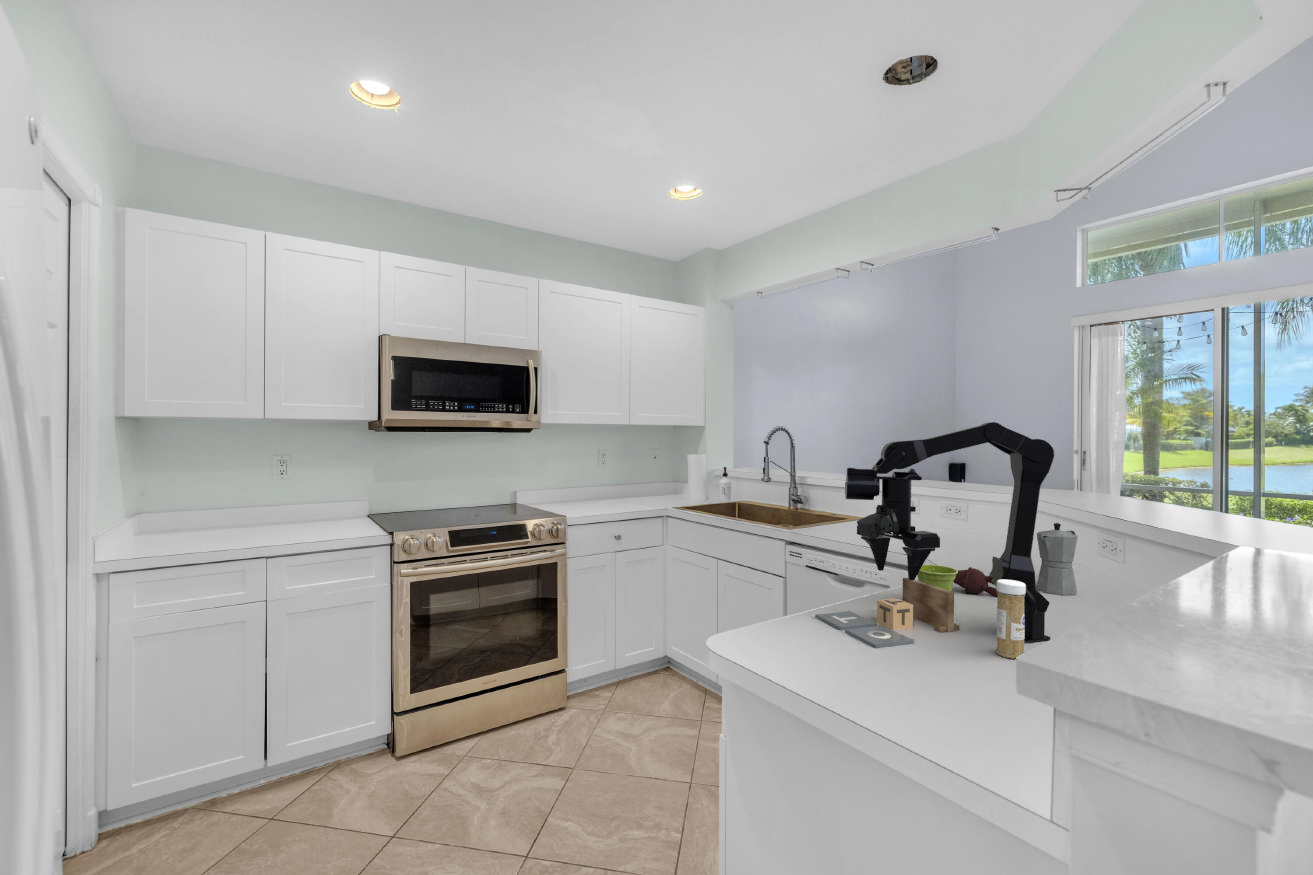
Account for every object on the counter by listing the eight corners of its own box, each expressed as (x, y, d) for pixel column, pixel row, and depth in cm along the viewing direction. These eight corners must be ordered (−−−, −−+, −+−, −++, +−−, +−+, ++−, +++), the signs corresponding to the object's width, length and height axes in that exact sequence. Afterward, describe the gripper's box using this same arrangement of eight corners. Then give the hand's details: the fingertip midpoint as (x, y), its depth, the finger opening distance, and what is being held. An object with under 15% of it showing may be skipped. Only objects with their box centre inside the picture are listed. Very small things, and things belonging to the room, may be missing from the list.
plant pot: (965, 611, 133) (965, 573, 133) (924, 610, 133) (924, 572, 133) (945, 600, 142) (946, 564, 142) (907, 599, 142) (907, 564, 142)
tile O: (914, 643, 111) (914, 639, 111) (875, 647, 108) (875, 644, 108) (882, 628, 119) (882, 625, 119) (845, 632, 117) (845, 628, 117)
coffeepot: (1062, 598, 145) (1062, 527, 145) (1023, 589, 154) (1024, 522, 154) (1094, 591, 153) (1094, 523, 153) (1055, 583, 161) (1056, 519, 161)
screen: (960, 630, 119) (961, 591, 119) (941, 632, 117) (941, 593, 117) (913, 612, 131) (914, 577, 131) (895, 614, 130) (896, 578, 130)
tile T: (877, 626, 121) (877, 623, 121) (840, 630, 118) (840, 626, 118) (849, 613, 129) (849, 610, 129) (815, 617, 127) (815, 614, 127)
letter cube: (913, 628, 120) (913, 604, 120) (893, 630, 118) (893, 606, 118) (895, 621, 125) (896, 597, 125) (876, 623, 123) (876, 599, 123)
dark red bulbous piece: (935, 566, 151) (1000, 581, 141) (943, 555, 156) (1007, 569, 147) (934, 590, 153) (999, 606, 143) (942, 579, 158) (1005, 593, 148)
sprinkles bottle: (1025, 661, 102) (1026, 585, 102) (995, 656, 104) (996, 582, 105) (1024, 653, 106) (1024, 580, 106) (995, 648, 108) (996, 577, 109)
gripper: (836, 497, 128) (836, 567, 128) (896, 506, 110) (895, 588, 110) (878, 496, 132) (877, 565, 131) (942, 505, 114) (941, 584, 114)
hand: (895, 575), depth 122 cm, fingers open, 9 cm apart
